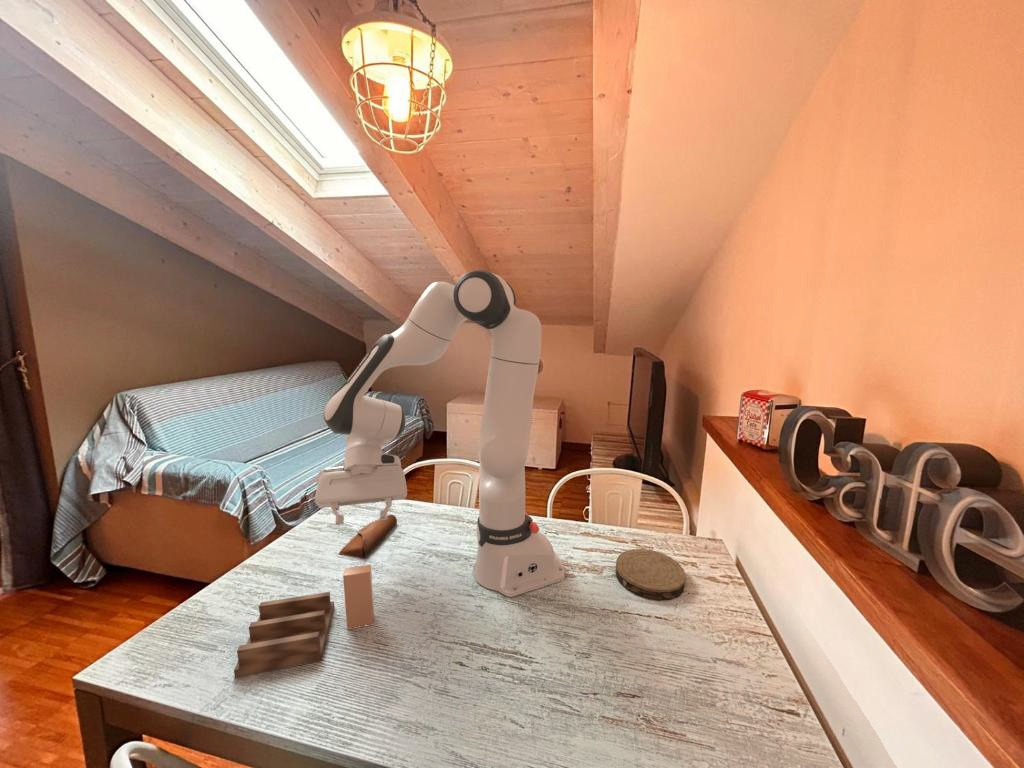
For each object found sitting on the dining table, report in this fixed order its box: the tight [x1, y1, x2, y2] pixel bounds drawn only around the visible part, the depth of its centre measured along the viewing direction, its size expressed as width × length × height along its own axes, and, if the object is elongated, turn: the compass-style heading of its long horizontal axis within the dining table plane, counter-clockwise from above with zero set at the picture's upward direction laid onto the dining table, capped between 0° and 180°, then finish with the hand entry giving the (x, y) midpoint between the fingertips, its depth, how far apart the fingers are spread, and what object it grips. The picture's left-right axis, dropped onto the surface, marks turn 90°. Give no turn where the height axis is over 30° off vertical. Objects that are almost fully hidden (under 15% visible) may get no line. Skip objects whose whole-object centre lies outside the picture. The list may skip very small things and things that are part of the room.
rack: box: [233, 591, 335, 678], centre depth 79 cm, size 14×14×4 cm
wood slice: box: [615, 548, 687, 602], centre depth 98 cm, size 16×16×3 cm
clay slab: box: [342, 564, 375, 630], centre depth 82 cm, size 5×2×12 cm, turn 105°
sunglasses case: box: [338, 514, 398, 559], centre depth 114 cm, size 18×7×7 cm
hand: (361, 521), depth 92 cm, fingers open, 8 cm apart
